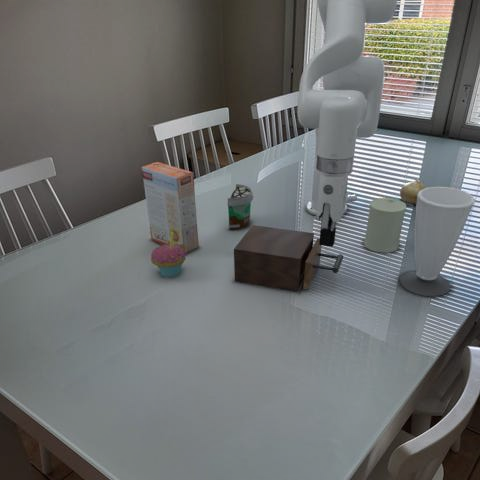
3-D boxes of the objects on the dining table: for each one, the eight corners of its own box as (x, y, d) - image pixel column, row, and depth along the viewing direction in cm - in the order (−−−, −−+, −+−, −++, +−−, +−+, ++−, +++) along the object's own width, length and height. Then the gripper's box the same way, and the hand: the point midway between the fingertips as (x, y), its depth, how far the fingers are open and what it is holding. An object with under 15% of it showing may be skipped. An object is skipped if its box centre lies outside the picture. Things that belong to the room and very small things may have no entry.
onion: (427, 206, 150) (432, 184, 146) (402, 207, 150) (406, 185, 146) (420, 197, 156) (424, 175, 152) (395, 197, 157) (399, 176, 153)
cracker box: (200, 247, 130) (194, 171, 118) (183, 255, 126) (176, 177, 114) (167, 233, 138) (158, 160, 126) (150, 240, 134) (140, 165, 122)
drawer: (343, 267, 118) (346, 242, 114) (333, 293, 108) (337, 267, 104) (264, 255, 124) (264, 231, 120) (248, 279, 114) (248, 253, 110)
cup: (424, 302, 107) (447, 210, 94) (389, 278, 115) (405, 192, 102) (461, 288, 111) (488, 199, 98) (424, 267, 119) (444, 182, 106)
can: (401, 240, 131) (409, 198, 124) (395, 255, 124) (403, 212, 117) (368, 235, 134) (374, 194, 127) (360, 249, 128) (366, 206, 121)
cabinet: (311, 264, 121) (314, 233, 116) (298, 292, 111) (300, 258, 106) (252, 255, 126) (252, 224, 121) (234, 281, 115) (233, 248, 110)
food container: (249, 233, 137) (249, 200, 131) (228, 232, 138) (227, 198, 132) (256, 216, 146) (256, 184, 140) (237, 215, 147) (236, 183, 142)
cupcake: (192, 266, 121) (188, 223, 114) (178, 283, 115) (173, 238, 108) (162, 262, 124) (156, 218, 117) (146, 278, 117) (140, 233, 110)
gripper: (346, 176, 91) (337, 261, 102) (358, 155, 103) (348, 233, 113) (308, 173, 94) (302, 256, 104) (323, 152, 105) (317, 229, 116)
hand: (326, 244), depth 109 cm, fingers closed
